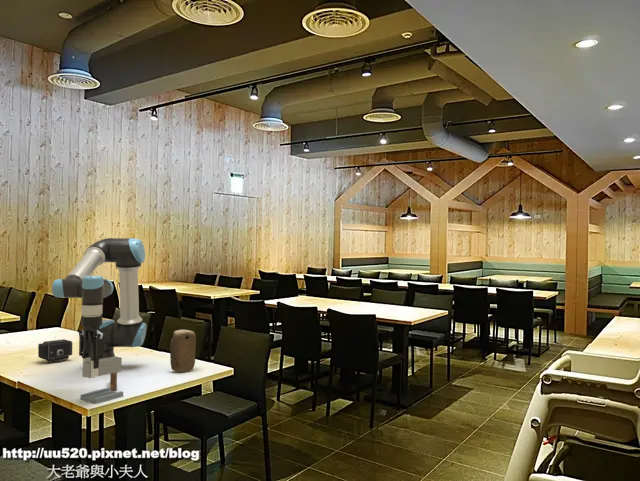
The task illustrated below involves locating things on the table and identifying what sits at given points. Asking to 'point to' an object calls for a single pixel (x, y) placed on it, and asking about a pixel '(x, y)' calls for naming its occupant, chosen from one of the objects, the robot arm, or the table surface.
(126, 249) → the robot arm
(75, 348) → the table surface
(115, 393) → the tray
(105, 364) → the grey rectangular block
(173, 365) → the stone
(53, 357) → the camera
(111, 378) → the beam
